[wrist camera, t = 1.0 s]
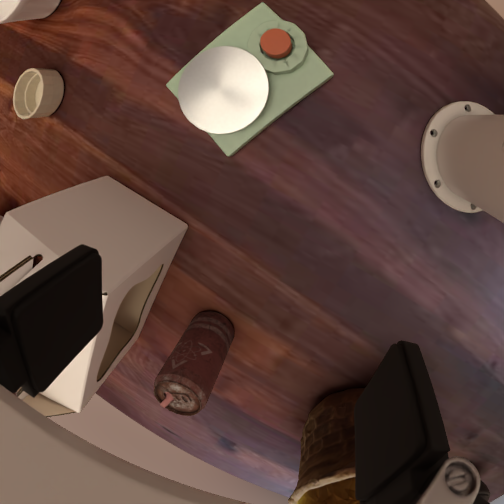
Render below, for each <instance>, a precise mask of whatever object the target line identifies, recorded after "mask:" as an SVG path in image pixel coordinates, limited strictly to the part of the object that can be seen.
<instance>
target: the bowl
mask: <svg viewBox="0 0 504 504" xmlns="http://www.w3.org/2000/svg"><path fill="white" fill-rule="evenodd" d="M63 93H64V83H63V79H62V77H61V75H60V74H59V73H58V72H57V71H56V70H53V69H41V68H31V69H28V70H26V71H25V72H24V73H23V74H22V75H21V76H20V78H19V80H18V81H17V83H16V86H15V90H14V95H13V105H14V110H15V112H16V114H17V115H18V117H20V118H22V119H30V118H39V117H47V116H50V115H51V114H52V113H53V112H55V110H56V109H57V108H58V106H59V105H60V103H61V100H62V97H63Z"/></svg>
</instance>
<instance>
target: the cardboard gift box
mask: <svg viewBox="0 0 504 504" xmlns="http://www.w3.org/2000/svg"><path fill="white" fill-rule="evenodd" d="M187 228H188V225H187V224H186V223H184V222H183V221H181V220H179V219H178V218H176V217H174V216H173V215H171V214H169V213H168V212H166V211H165V210H163V209H161V208H160V207H158V206H156V205H155V204H153V203H151V202H150V201H148V200H147V199H145V198H143V197H142V196H140V195H138V194H137V193H135V192H134V191H132V190H130V189H129V188H127V187H125V186H124V185H122V184H121V183H119V182H117V181H116V180H114V179H112V178H111V177H109V176H108V175H107V176H104V177H101V178H98V179H95V180H92V181H89V182H86V183H83V184H80V185H77V186H74V187H71V188H68V189H65V190H62V191H60V192H57V193H54V194H51V195H49V196H46V197H43V198H41V199H38V200H35V201H33V202H30V203H28V204H25V205H23V206H20V207H18V208H15V209H13V210H11V211H8V212H6V213H5V215H4V218H3V220H2V222H1V225H0V296H1V295H3V294H4V293H6V292H7V291H9V290H10V289H11V288H13V287H14V286H16V285H17V284H19V283H20V282H22V281H23V280H25V279H26V278H28V277H29V276H31V275H32V274H34V273H35V272H37V271H38V270H40V269H42V268H43V267H45V266H46V265H48V264H49V263H51V262H53V261H54V260H56V259H57V258H59V257H61V256H62V255H64V254H65V253H67V252H69V251H70V250H72V249H74V248H75V247H77V246H79V245H81V244H84V245H87V246H89V247H92V248H95V249H97V250H98V252H99V255H100V256H101V258H102V300H103V326H102V329H101V330H100V332H99V333H98V334H97V335H96V336H95V337H94V338H93V339H92V340H91V341H90V342H89V343H88V344H87V345H86V346H85V347H84V349H83V350H82V351H81V352H80V353H79V354H78V355H77V356H76V357H75V358H74V359H73V360H72V361H71V363H70V364H69V365H68V366H67V367H66V368H65V369H64V370H63V371H62V372H61V373H60V375H59V376H58V377H57V378H56V379H55V380H54V381H53V382H52V383H51V385H50V386H49V387H48V388H47V389H46V390H45V391H44V392H39V393H38V394H37V395H36V396H35V398H33V397H32V396H30V395H29V394H27V393H26V392H24V391H23V390H22V388H21V387H20V388H19V389H18V390H17V397H18V398H20V399H21V400H22V401H24V402H25V403H26V404H28V405H29V406H31V407H32V408H34V409H35V410H37V411H38V412H39V413H41V414H42V415H44V416H46V417H51V416H57V415H64V414H70V413H75V412H78V413H80V412H81V411H82V410H83V408H84V407H85V406H86V404H87V403H88V402H89V400H90V399H91V398H92V396H93V395H94V394H95V393H96V391H97V390H98V389H99V387H100V386H101V385H102V383H103V382H104V381H105V380H106V378H107V377H108V376H109V374H110V373H111V372H112V370H113V369H114V368H115V367H116V365H117V364H118V363H119V361H120V360H121V359H122V358H123V356H124V355H125V354H126V353H127V351H128V350H129V349H130V348H131V346H132V345H133V344H134V342H135V341H136V340H137V339H138V337H139V335H140V332H141V330H142V328H143V325H144V323H145V320H146V318H147V316H148V313H149V311H150V309H151V306H152V304H153V302H154V300H155V297H156V295H157V293H158V291H159V288H160V286H161V284H162V282H163V279H164V277H165V275H166V273H167V271H168V268H169V266H170V264H171V262H172V260H173V258H174V255H175V253H176V251H177V249H178V247H179V245H180V243H181V241H182V239H183V237H184V234H185V232H186V230H187ZM37 256H41V257H42V258H43V260H42V261H41V262H40V263H38V264H37V265H36V266H35V267H34V268H33V259H34V258H35V257H37ZM32 268H33V269H32Z"/></svg>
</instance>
